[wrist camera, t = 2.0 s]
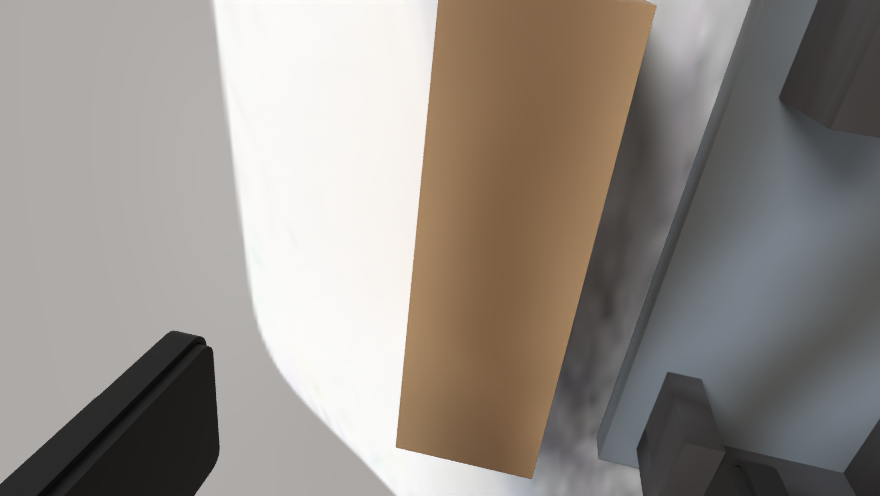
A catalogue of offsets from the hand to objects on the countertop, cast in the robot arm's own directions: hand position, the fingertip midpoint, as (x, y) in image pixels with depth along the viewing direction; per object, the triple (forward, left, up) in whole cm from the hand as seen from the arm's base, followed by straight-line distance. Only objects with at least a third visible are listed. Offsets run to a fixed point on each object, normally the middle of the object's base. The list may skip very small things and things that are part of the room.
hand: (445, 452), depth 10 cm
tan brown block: (-1, 0, -12) cm, 12 cm away
